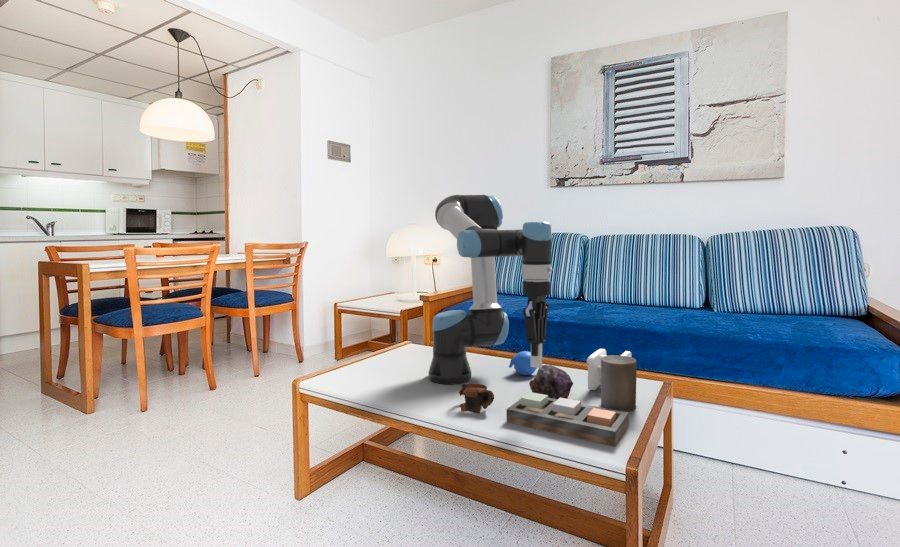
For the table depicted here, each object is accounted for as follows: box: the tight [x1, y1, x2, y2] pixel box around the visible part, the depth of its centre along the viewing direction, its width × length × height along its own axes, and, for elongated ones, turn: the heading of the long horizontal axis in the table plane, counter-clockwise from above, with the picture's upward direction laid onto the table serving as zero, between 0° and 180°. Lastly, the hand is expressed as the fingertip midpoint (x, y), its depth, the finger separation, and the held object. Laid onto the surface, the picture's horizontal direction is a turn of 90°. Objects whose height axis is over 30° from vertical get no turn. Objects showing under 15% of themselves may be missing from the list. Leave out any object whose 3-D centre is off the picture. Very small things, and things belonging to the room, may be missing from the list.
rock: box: [529, 364, 574, 399], centre depth 142 cm, size 12×9×10 cm
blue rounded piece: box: [508, 350, 538, 376], centre depth 167 cm, size 12×12×8 cm
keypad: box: [506, 398, 630, 447], centre depth 121 cm, size 28×14×4 cm, turn 57°
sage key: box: [520, 391, 548, 409], centre depth 126 cm, size 6×6×2 cm
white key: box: [553, 398, 582, 416], centre depth 121 cm, size 6×6×2 cm
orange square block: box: [587, 408, 616, 427], centre depth 116 cm, size 6×6×2 cm
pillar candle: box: [600, 354, 637, 412], centre depth 133 cm, size 10×10×15 cm
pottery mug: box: [458, 382, 495, 414], centre depth 134 cm, size 12×10×8 cm
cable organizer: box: [586, 348, 632, 391], centre depth 149 cm, size 15×11×12 cm
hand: (536, 366), depth 125 cm, fingers closed
